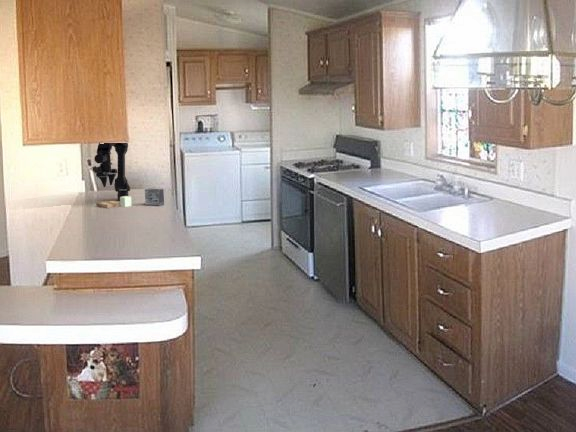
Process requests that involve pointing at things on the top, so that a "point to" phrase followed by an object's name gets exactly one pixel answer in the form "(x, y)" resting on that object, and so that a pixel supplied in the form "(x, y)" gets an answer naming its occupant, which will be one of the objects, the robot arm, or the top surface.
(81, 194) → the top surface
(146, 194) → the small box
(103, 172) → the robot arm
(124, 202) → the block
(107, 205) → the base board
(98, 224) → the top surface
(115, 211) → the top surface
